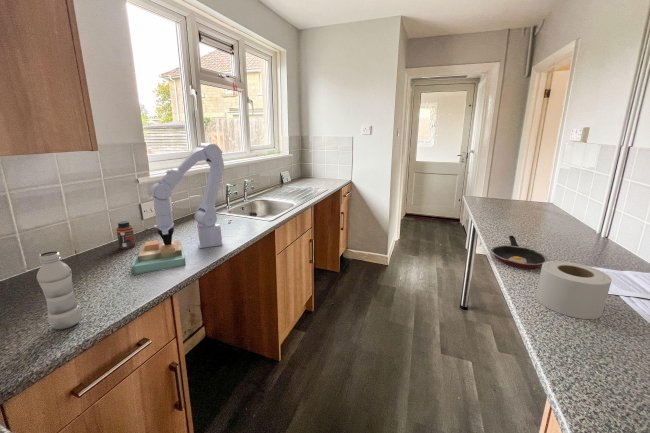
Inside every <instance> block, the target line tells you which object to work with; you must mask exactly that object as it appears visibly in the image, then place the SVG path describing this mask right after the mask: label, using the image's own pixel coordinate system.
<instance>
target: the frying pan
mask: <svg viewBox="0 0 650 433" xmlns="http://www.w3.org/2000/svg"><path fill="white" fill-rule="evenodd" d="M508 239H509V241H510V245H508V244H507V245H505V244H504V245H503V244H502V245H495V246H492V247H491V248H490V252H491V253H492V254H493V257H495V258H496V259H497V261H498V262H500V263H502V264H504V265H505V266H506V265H507V266H511V267H514V268H518V269H529V270H530V269H535V268H538V267H540V266H541V267H542V264H543V263H544V262H547V261H549V260H548V259H549V258H548V257H547V256H546V255H544V254H543V253H541V252H539V251H537V250H533V249H530V248H526V247H524V246H523V247H522V246H520V245H518V243H517V240H516V237H515V236H514V235H509V237H508Z"/></svg>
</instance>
